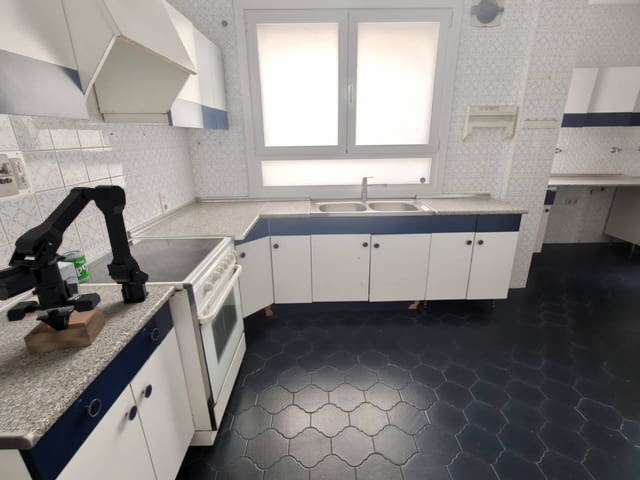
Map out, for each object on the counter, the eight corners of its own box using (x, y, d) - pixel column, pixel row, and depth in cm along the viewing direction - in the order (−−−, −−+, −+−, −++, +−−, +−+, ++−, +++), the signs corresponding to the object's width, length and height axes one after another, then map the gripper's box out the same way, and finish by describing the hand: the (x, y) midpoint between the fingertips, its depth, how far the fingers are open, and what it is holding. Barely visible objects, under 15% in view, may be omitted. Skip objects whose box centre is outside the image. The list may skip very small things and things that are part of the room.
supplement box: (63, 304, 105) (52, 270, 101) (45, 302, 106) (34, 269, 102) (83, 294, 112) (74, 262, 108) (66, 293, 113) (57, 261, 109)
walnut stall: (106, 323, 93) (102, 309, 91) (91, 344, 83) (86, 328, 82) (51, 331, 89) (46, 316, 88) (29, 354, 80) (23, 337, 78)
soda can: (64, 286, 119) (55, 257, 115) (70, 279, 125) (62, 251, 121) (87, 282, 121) (80, 254, 118) (92, 275, 128) (85, 248, 124)
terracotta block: (102, 319, 96) (99, 306, 94) (88, 336, 87) (84, 322, 86) (70, 323, 94) (66, 310, 93) (52, 340, 86) (47, 326, 84)
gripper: (101, 266, 89) (113, 313, 93) (24, 274, 84) (41, 323, 89) (84, 282, 78) (99, 334, 83) (-5, 292, 74) (16, 347, 79)
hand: (64, 334), depth 84 cm, fingers closed
